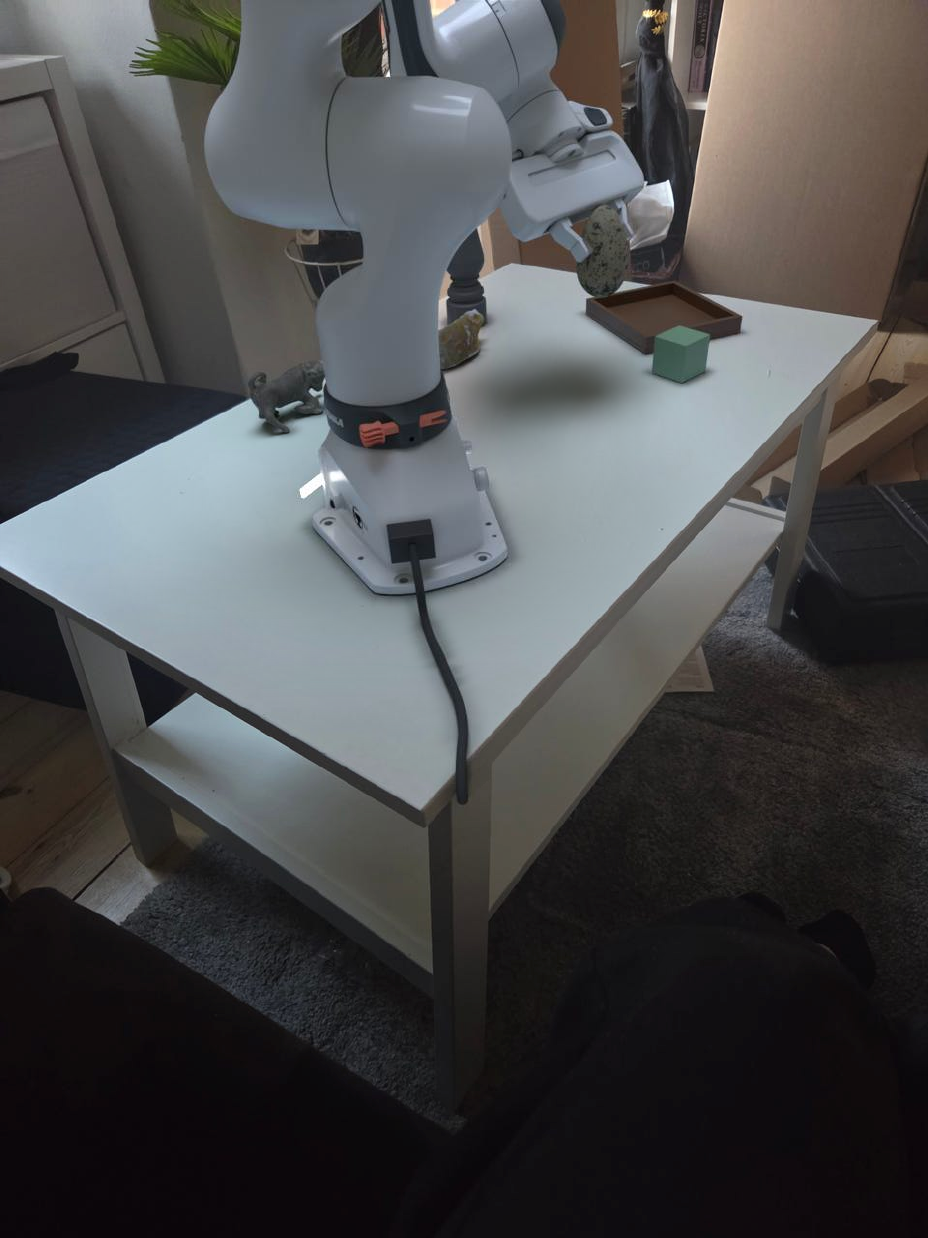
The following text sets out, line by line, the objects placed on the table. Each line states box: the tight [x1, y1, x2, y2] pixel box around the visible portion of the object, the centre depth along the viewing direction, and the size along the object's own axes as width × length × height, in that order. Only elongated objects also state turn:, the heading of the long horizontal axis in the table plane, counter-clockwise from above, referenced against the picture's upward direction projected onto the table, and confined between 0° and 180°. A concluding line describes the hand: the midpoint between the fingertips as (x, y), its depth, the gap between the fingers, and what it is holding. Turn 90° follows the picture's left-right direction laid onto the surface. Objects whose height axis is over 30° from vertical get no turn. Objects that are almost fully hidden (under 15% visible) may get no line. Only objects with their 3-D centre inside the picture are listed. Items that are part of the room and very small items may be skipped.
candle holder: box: [445, 227, 488, 327], centre depth 122 cm, size 6×6×25 cm
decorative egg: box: [575, 205, 630, 298], centre depth 96 cm, size 6×6×10 cm
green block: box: [651, 325, 711, 384], centre depth 110 cm, size 5×5×5 cm
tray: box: [585, 280, 743, 355], centre depth 124 cm, size 18×16×2 cm
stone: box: [438, 309, 484, 370], centre depth 118 cm, size 7×6×15 cm
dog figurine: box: [247, 360, 325, 433], centre depth 106 cm, size 12×6×7 cm, turn 138°
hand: (607, 249), depth 96 cm, fingers closed on decorative egg, 6 cm apart
